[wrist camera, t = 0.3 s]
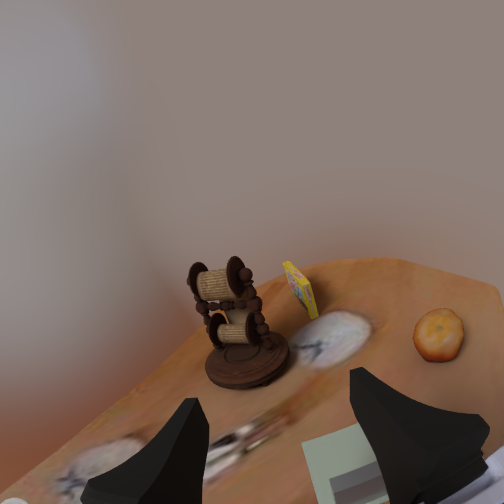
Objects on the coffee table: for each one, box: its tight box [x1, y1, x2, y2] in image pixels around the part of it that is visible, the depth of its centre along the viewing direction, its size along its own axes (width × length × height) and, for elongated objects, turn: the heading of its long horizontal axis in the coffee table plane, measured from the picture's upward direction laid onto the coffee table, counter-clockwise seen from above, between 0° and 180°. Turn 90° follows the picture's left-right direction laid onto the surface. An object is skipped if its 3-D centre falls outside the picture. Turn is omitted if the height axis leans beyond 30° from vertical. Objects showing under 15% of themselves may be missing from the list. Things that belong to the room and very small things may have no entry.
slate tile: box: [329, 461, 387, 504], centre depth 16 cm, size 2×11×7 cm, turn 95°
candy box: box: [283, 261, 319, 319], centre depth 62 cm, size 16×2×8 cm, turn 8°
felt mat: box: [302, 423, 389, 504], centre depth 21 cm, size 12×14×1 cm
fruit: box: [413, 308, 464, 362], centre depth 32 cm, size 8×8×8 cm
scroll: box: [187, 256, 290, 389], centre depth 44 cm, size 15×15×20 cm
